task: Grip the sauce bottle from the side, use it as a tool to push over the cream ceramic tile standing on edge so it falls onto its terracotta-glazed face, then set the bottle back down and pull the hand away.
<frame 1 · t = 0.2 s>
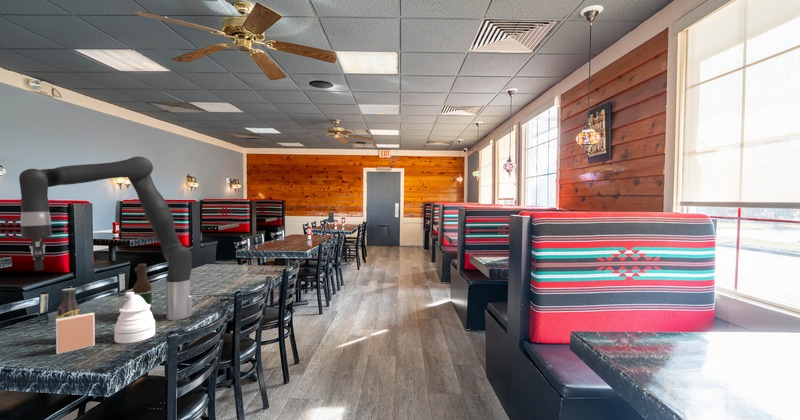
hand: (38, 268, 125), 29 cm above the table, tool pointing down, fingers open, 8 cm apart
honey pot: (135, 337, 136), on the table
sauce bottle: (68, 341, 131), on the table
beer bottle: (142, 314, 163), on the table
tile: (76, 349, 124), on the table
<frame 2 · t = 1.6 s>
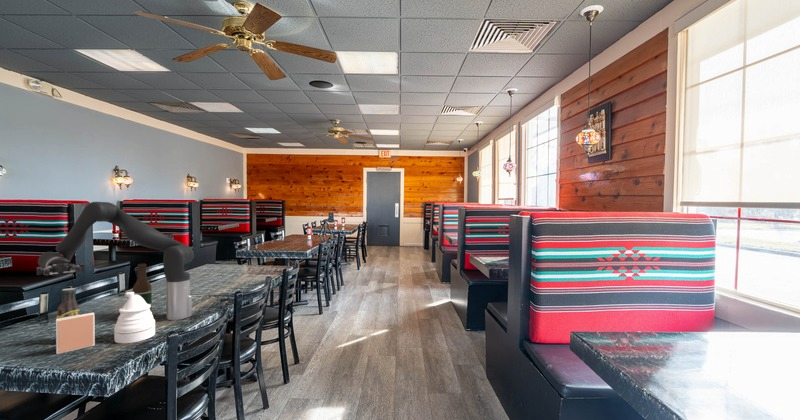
hand: (63, 271, 138), 25 cm above the table, tool horizontal, fingers open, 8 cm apart
nothing on the table moved.
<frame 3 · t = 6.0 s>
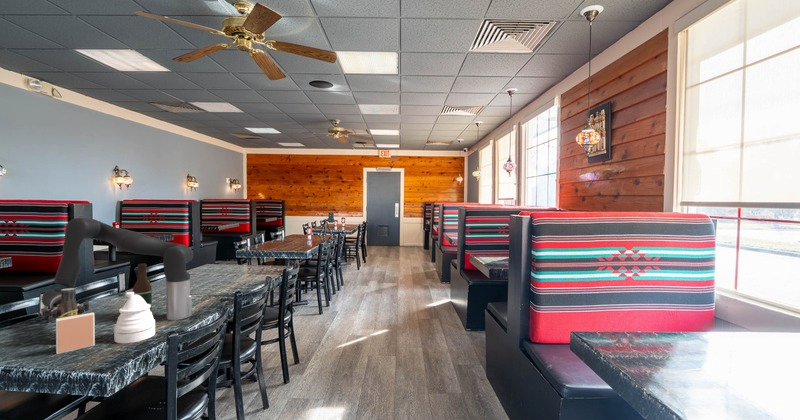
hand: (68, 313, 130), 11 cm above the table, tool horizontal, fingers closed on sauce bottle, 6 cm apart
sauce bottle: (68, 341, 131), on the table, touching gripper
everything else where it was.
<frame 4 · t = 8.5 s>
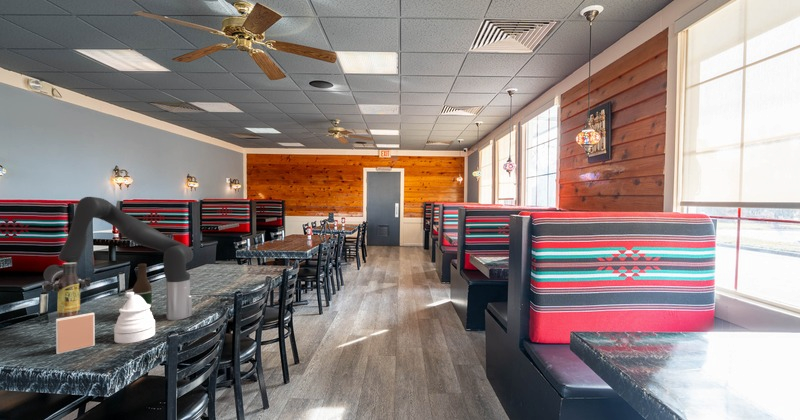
hand: (70, 287, 129), 21 cm above the table, tool horizontal, fingers closed on sauce bottle, 6 cm apart
sauce bottle: (69, 315, 131), point 10 cm above the table, touching gripper
everything else where it was.
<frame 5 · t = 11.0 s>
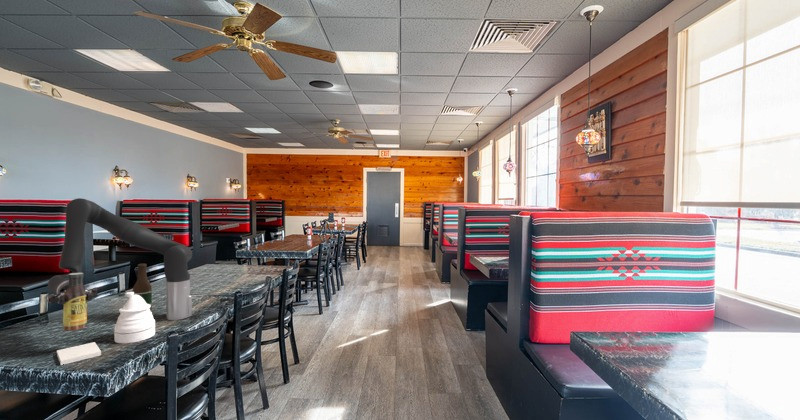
hand: (76, 299, 122), 19 cm above the table, tool horizontal, fingers closed on sauce bottle, 6 cm apart
sauce bottle: (75, 329, 123), point 7 cm above the table, touching gripper
tile: (76, 348, 123), point 1 cm above the table, tilted 90°
everything else where it was.
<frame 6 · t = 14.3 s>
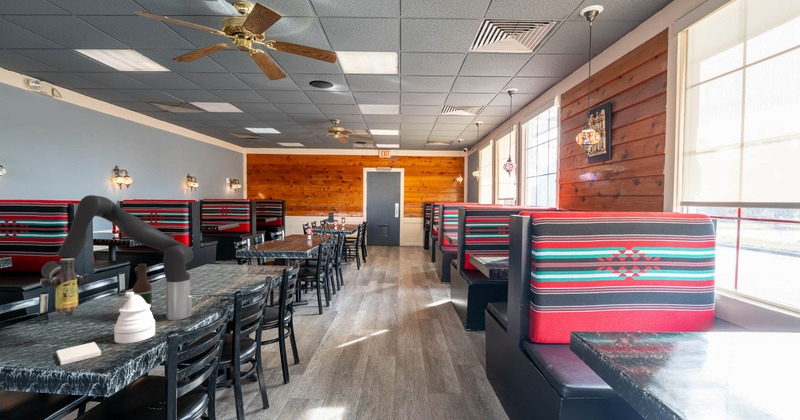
hand: (68, 283, 129), 23 cm above the table, tool horizontal, fingers closed on sauce bottle, 6 cm apart
sauce bottle: (67, 311, 131), point 11 cm above the table, touching gripper
everything else where it was.
when the fingers open (12 cm above the table, at t = 17.2 s): sauce bottle drops 1 cm, on the table.
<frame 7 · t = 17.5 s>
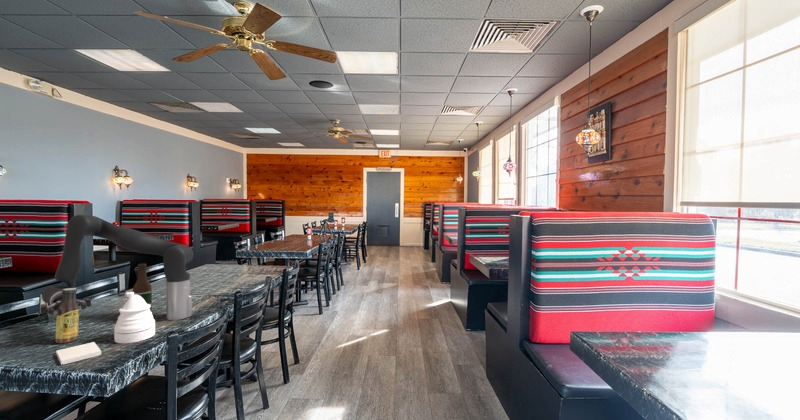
hand: (68, 309, 130), 12 cm above the table, tool horizontal, fingers open, 8 cm apart
sauce bottle: (67, 341, 131), on the table
everything else where it was.
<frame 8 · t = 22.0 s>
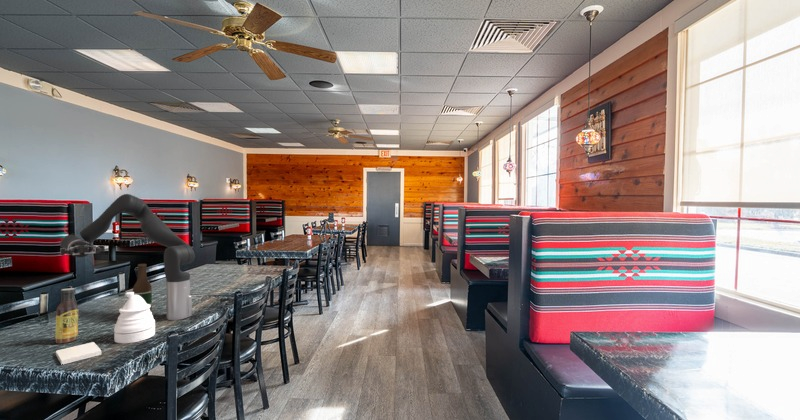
hand: (85, 251, 147), 32 cm above the table, tool horizontal, fingers open, 8 cm apart
nothing on the table moved.
at the end: tile tilted 90°; sauce bottle tilted 0°; sauce bottle inside the target area (0.3 cm from its centre), on the table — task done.
